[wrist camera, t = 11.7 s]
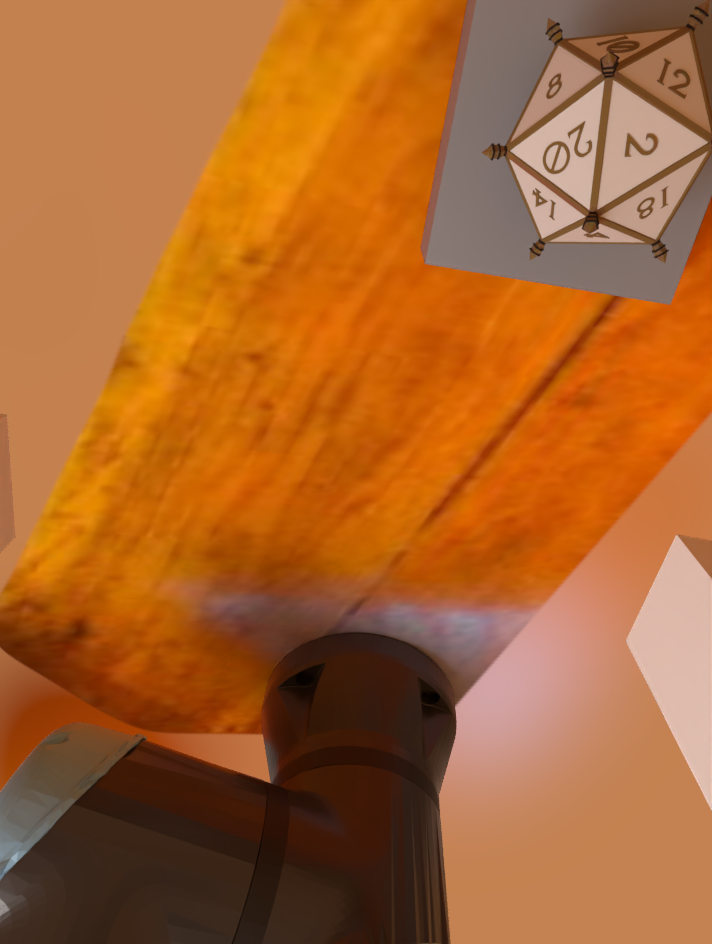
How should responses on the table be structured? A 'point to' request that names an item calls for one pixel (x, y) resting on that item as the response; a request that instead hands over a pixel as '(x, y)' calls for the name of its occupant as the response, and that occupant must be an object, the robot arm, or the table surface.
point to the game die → (612, 136)
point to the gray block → (491, 182)
